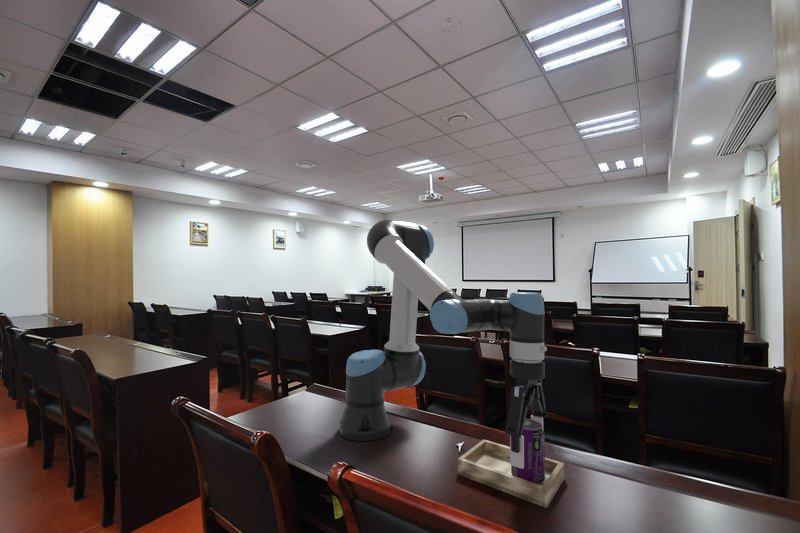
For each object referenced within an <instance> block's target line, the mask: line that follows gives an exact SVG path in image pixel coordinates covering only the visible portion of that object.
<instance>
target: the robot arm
mask: <svg viewBox="0 0 800 533" xmlns="http://www.w3.org/2000/svg"><path fill="white" fill-rule="evenodd" d="M434 241H435V240H434V237H433V234H432V233H431V231H430V230H429V229H428V228H427V227H426V226H425V225H421V224H418V223H414V222H406V221H398V220H393V219H382V220H379V221H378V222H376V223H375V224H373V225H372V227H371V228H370V229H369V231H368V233H367V235H366V245H367V246H366V247H367V248H368V251H369V252H370V254H371V256H372V257H373V258H374V259H375V260H376V261H377V262H378V263H380V264H384V265H385V266H386V267H387V268H388V269H389V270H391V272H392V273H393V280H392V295H391V308H390V309H391V311H390V324H389V329H390V330H389V338H388V341H387V342H386V343H385V344H384V347H383V350H381V349H369V350H368V349H366V350H365V349H364V350H360V351H357V352H354V353H352V354H351V355H350V356H348V358H347V361H346V368H345V374H346V375H345V379H346V381H345V406H344V409H343V412H342V418H341V420H340V422H339V428H338V430H339V431H338V433H339V435H340V436H341V437H343V438H344V439H347V440H350V441H354V442H370V441H376V440H379V439H382V438H385V437H386V436H388V434H390V430H391V429H390V426H391V425H390V420H389V418H388V415H387V409H386V406H385V393H387V392H391V391H396V390H401V389H408V388H411V387H413V386H416V385H418V384H419V383H420V382H422V380H423V378H424V376H425V373H426V369H427V368H426V367H427V366H426V365H427V364H426V360H425V359H424V357H425V356H424V355H423V353H422V352H421V351H420V346H419V345H418V344H417V343H416V339H417V338H416V336H417V322H418V309H419V308H418V307H419V306H418V305H419V301H420V302H421V303H422V304H423V305H424V306H425V307H426V308H427V310H428V311H429V312H430V313H429V319H430V322H431V324H432V327H433V329H434V330H435V331H436V332H438V333H440V334H444V335H446V334H447V335H449V334H450V335H458V334H462V333H469V332H479V331H481V332H482V331H486V330H487V331H488V330H490V331H492V330H493V331H503V332H509V358H511V359H510V360H509V374H510V376H512V377H513V378H515V379H516V380H517V383H516V385H511V387H510V400H509V405H508V406H509V407H508V413H507V418H506V419H507V420H506V426H505V429H504V432H505V434H506V435H507V436H509V447H510V465H512V466H515V467H518V468H521V469H523V468H524V436H522V432H523V428H524V423H525V419H527V413H528V409H529V408H530V411H531V415H530V419H531V420H534V421H537V422H539V423H541V424H542V430H543V431H544V418H547V417H548V412H546V411H547V406H546V401H545V395H544V389H543V379H544V378H545V377H546V371H545V370H546V365H545V362H544V361H543V360H545V352H547V351H548V348H547V347H546V346H545V314H546V312H545V304H544V303H545V302H544V296H543V295H542V293H539V292H523V291H522V292H518V291H514V292H513V291H512V292H511V293H509V299H507V300H506V299H505V300H504V299H492V298H491V299H490V298H489V299H488V298H474V299H463V298H462V297H461V296H460V295H459V294H457V293H456V292H455V291H454V290H453V289H452V288H450V286H449V285H447V284H446V283H445V282H444V281H443V280H442V279H441V278H440V277H439V276H437V274H436V273H434V272H433V271H432V270H431V268H429V267H428V266H427V265H426V260H428V259H429V258H430V257H431V254H433V252H434V248H435V242H434ZM514 429H515V430H514Z"/></svg>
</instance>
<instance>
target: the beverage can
mask: <svg viewBox="0 0 800 533" xmlns="http://www.w3.org/2000/svg"><path fill="white" fill-rule="evenodd" d="M514 430H515V429H514ZM522 436H524V468H523V469H521V468H518V467H515V466H512V465H511V473H512V475H513V476H515V477H518V478H521V479H524V480H527V481H530V482H532V483H535V484H537V483H541V482H543V481H544V479H545V458H546V456H545V454H546V453H545V452H546V451H545V449H546V448H545V445H546V444H545V432H544V429H543V430H542V424H541V423H539V422H537V421H534V420H531V418H526V419H525V423H524V428H523V432H522Z"/></svg>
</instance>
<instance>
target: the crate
mask: <svg viewBox="0 0 800 533" xmlns="http://www.w3.org/2000/svg"><path fill="white" fill-rule="evenodd" d="M457 475H459V476H461V477H464V478H467V479H469V480H472V481H474V482H477V483H480V484H482V485H485V486H488V487H490V488H493V489H495V490H498V491H502V492H503V493H506V494H508V495H511V496H512V497H513V496H514V497H516V498H519V499H521V500H525V501H527V502H530V503H532V504H535V505H537V506H540V507H543V508H545V509H547V508H548V506H549V505H550V503H551V501H552V500H553V498H554V497H555V495H556V493H557V492H558V491H559V488H560V487H561V486H562V483H563V482H564V481H565V462H561V461H557V460H555V459H551V458H548V457H545V479H544V481H543V482H541V483H537V484H535V483H532V482H530V481H527V480H524V479H521V478H518V477H515V476H513V475H512V473H511V465H510V446H508V445H504V444H501V443H497V442H495V441H490V440H487V439H481V440H480V441H479V442H478V443H477V444H476V445H474V446H472V448H470V449H469V450H467V451H466V452H465V453H464V454H462V455H461V456H460V457H458V458H457Z"/></svg>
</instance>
